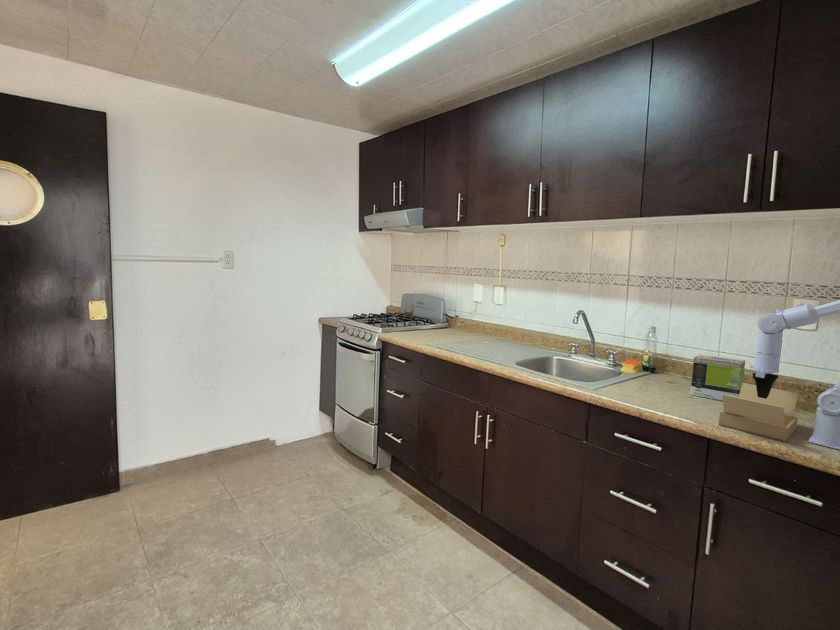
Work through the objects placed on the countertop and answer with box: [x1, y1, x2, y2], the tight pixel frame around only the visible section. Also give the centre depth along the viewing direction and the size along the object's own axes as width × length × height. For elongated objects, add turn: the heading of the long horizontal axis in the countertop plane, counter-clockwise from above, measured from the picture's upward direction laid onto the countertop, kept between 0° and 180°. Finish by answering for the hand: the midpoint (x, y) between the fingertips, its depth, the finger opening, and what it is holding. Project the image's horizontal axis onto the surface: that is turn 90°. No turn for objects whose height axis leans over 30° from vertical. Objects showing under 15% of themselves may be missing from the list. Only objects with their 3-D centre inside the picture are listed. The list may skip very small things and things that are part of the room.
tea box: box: [690, 354, 746, 402], centre depth 163 cm, size 15×10×15 cm, turn 48°
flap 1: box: [722, 394, 785, 426], centre depth 125 cm, size 14×7×1 cm
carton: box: [718, 409, 799, 443], centre depth 132 cm, size 16×15×4 cm
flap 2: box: [739, 382, 800, 416], centre depth 137 cm, size 14×7×1 cm
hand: (762, 397), depth 133 cm, fingers closed
